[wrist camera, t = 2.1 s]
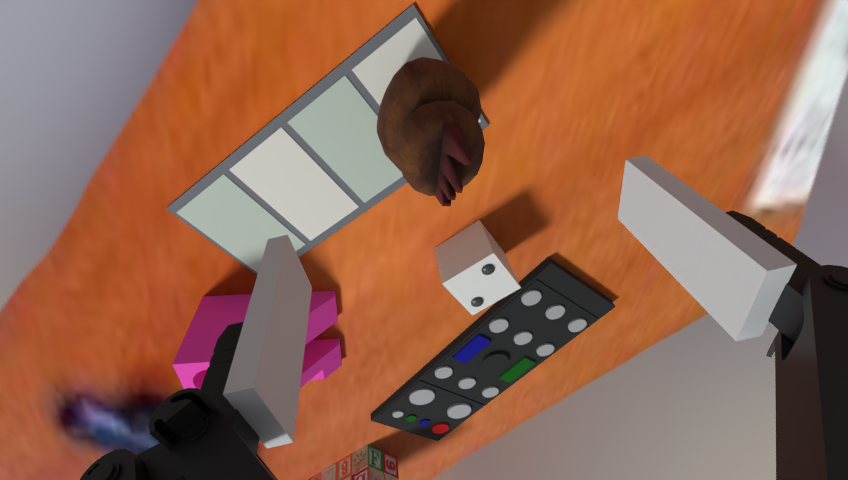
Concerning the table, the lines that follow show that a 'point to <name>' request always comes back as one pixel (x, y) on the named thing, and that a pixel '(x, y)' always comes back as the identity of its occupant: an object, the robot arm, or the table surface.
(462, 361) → the remote control
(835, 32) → the table surface
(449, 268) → the die
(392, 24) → the game mat
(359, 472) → the stack of blocks
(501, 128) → the table surface
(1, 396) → the table surface
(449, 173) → the wooden figurine
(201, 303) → the bracket
